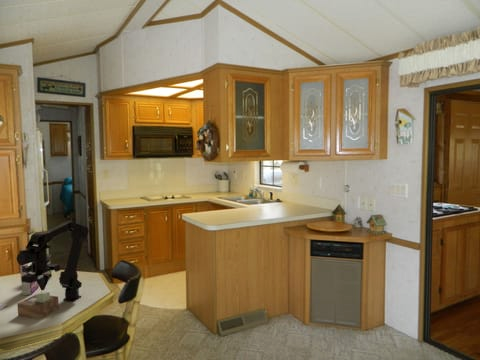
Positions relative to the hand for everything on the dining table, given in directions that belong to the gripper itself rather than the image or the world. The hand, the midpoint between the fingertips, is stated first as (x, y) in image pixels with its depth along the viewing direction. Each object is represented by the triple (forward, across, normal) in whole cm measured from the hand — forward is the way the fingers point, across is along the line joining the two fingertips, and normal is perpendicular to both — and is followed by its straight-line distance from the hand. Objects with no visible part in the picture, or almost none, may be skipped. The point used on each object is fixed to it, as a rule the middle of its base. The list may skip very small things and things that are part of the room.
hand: (42, 290), depth 183 cm
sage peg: (+7, 0, 0) cm, 7 cm away
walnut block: (+11, 0, -3) cm, 12 cm away
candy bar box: (+12, -19, -28) cm, 36 cm away
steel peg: (+11, 0, -6) cm, 13 cm away
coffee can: (+12, -37, -37) cm, 54 cm away
